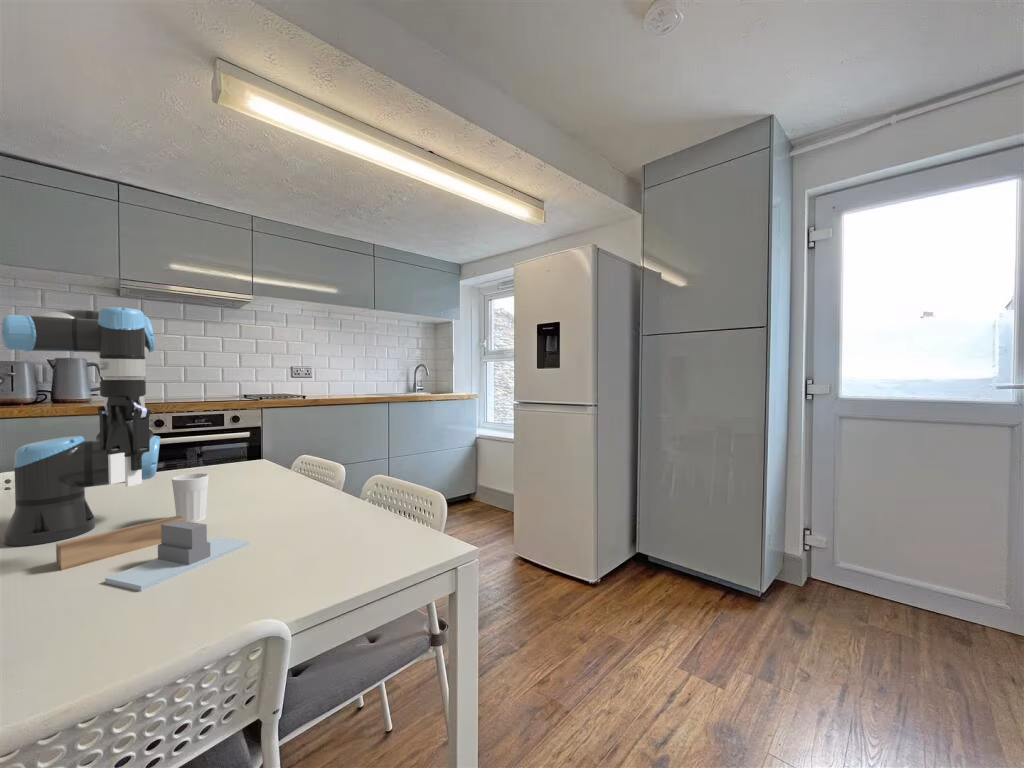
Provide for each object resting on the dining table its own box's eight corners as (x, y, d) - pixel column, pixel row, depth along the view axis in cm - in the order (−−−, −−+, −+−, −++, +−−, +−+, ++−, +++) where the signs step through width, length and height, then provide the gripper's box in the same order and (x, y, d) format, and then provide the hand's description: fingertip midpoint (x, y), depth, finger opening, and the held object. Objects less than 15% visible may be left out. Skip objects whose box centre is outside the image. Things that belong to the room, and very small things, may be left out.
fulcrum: (105, 583, 81) (104, 541, 81) (217, 540, 102) (216, 506, 102) (141, 591, 78) (140, 547, 78) (249, 545, 99) (249, 511, 99)
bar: (56, 567, 89) (55, 543, 88) (178, 535, 106) (178, 515, 106) (61, 572, 86) (61, 547, 86) (185, 539, 104) (185, 518, 104)
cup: (169, 528, 111) (168, 481, 110) (176, 518, 118) (175, 475, 117) (206, 523, 114) (206, 477, 114) (211, 514, 121) (210, 471, 121)
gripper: (75, 378, 94) (78, 484, 95) (130, 379, 89) (133, 492, 89) (116, 378, 101) (118, 476, 102) (169, 378, 96) (171, 483, 96)
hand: (125, 483), depth 96 cm, fingers open, 5 cm apart
